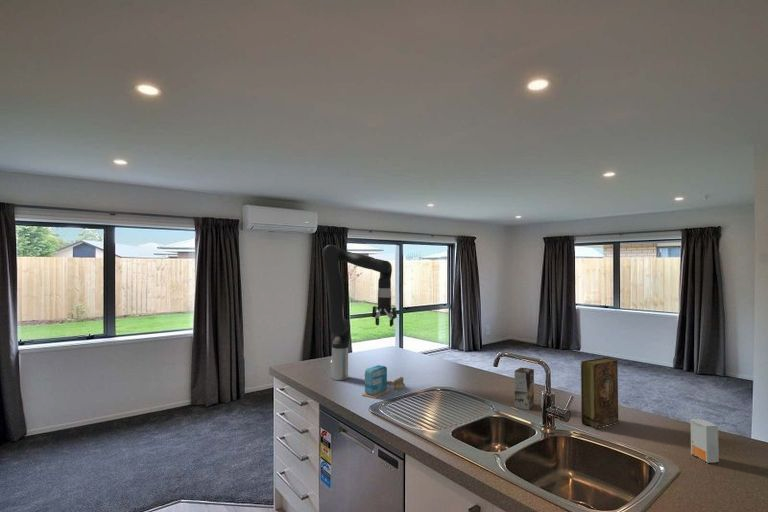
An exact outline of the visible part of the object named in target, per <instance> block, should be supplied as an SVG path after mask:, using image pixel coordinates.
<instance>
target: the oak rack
mask: <svg viewBox="0 0 768 512" xmlns="http://www.w3.org/2000/svg"><path fill="white" fill-rule="evenodd" d="M389 384H390V385H389ZM387 385H389V386H393V391H394V392H398V391H400V390H401V389H402V388H404V387H405V386H406V385H405V383H404V376H403V377H402V376H400V377H398V378H396V379H395V380H393V381H392V380H387ZM397 390H398V391H397Z"/></svg>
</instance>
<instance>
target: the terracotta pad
mask: <svg viewBox="0 0 768 512" xmlns="http://www.w3.org/2000/svg"><path fill="white" fill-rule="evenodd" d="M386 392H387V393H388V392H390V389H386V390H385V391H383V392H380V393H378V394H375V395H370V394H367V393H365V392H364V393H362V394H361V396H362V397H365V398H366V397H367V398H370V399H378V398H379V397H381V395H382V396H383V395H385V394H387V393H386Z"/></svg>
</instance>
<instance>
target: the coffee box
mask: <svg viewBox="0 0 768 512" xmlns="http://www.w3.org/2000/svg"><path fill="white" fill-rule="evenodd" d="M534 405H535V369H534V368H528V367H519V368H517V369H515V370H514V408H517V409H523V410H528V411H529V410H530V409H531V408H532V407H533V406H534Z"/></svg>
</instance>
